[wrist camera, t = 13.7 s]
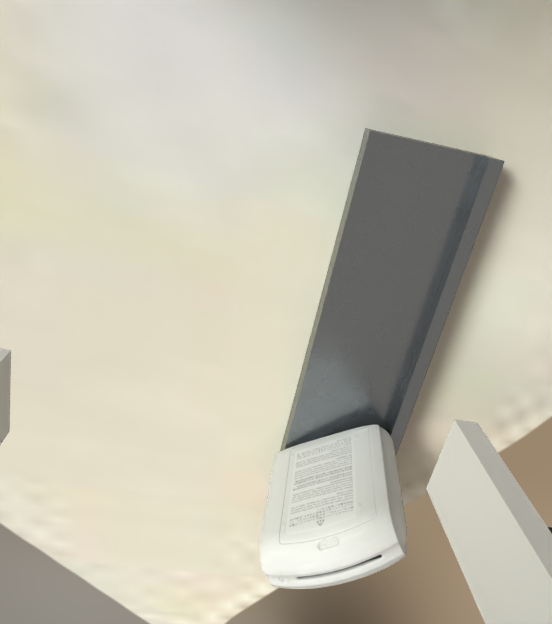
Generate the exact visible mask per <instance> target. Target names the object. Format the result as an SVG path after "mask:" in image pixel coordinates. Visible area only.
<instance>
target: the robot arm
mask: <svg viewBox="0 0 552 624" xmlns="http://www.w3.org/2000/svg"><path fill="white" fill-rule="evenodd" d="M10 374H11V350H7V349H0V444H1V443H2V442H3V440H4V439H5V437H6V436H7V434H8V433H9V427H10ZM426 490H427V492H428V494H429V496H430V498H431V501H432V503H433V506H434V508H435V510H436V512H437V515H438V517H439V519H440V522H441V524H442V526H443V528H444V531H445V533H446V535H447V538H448V540H449V542H450V544H451V547H452V549H453V551H454V554H455V556H456V558H457V560H458V562H459V565H460V567H461V569H462V572H463V574H464V576H465V579H466V581H467V583H468V586H469V588H470V590H471V592H472V595H473V597H474V599H475V602H476V604H477V606H478V608H479V611H480V613H481V615H482V617H483V620H484V622H485V624H552V528H550V527H547V526H546V524H545V523H544V521H543V520H542V519H541V517H540V516H539V514H538V512H537V511H536V509H535V508H534V507H533V505H532V503H531V502H530V501H529V499H528V498H527V496H526V495H525V493H524V492H523V490H522V489H521V487H520V486H519V484H518V483H517V481H516V480H515V478H514V477H513V475H512V474H511V472H510V471H509V469H508V468H507V466H506V465H505V463H504V462H503V460H502V459H501V457H500V456H499V454H498V453H497V451H496V450H495V448H494V447H493V445H492V444H491V442H490V441H489V439H488V438H487V436H486V435H485V433H484V432H483V430H482V429H481V427H480V426H479V424H478V423H474V422H467V421H461V420H455V419H454V422H453V424H452V427H451V429H450V432H449V434H448V436H447V439H446V441H445V444H444V446H443V449H442V451H441V454H440V456H439V458H438V461H437V463H436V466H435V468H434V471H433V473H432V476H431V478H430V480H429V483H428V485H427V488H426Z"/></svg>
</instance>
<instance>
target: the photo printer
mask: <svg viewBox="0 0 552 624" xmlns="http://www.w3.org/2000/svg"><path fill="white" fill-rule="evenodd" d="M406 531H407V529H406V521H405V515H404V508H403V502H402V496H401V489H400V483H399V476H398V470H397V464H396V458H395V452H394V445H393V441H392V438H391V436H390V434H389V433H388V432H387V431H386V430H385V429H383V428H381V427H379V425H367V426H362V427H358V428H354V429H351V430H347V431H343V432H340V433H336V434H333V435H329V436H326V437H322V438H319V439H316V440H312V441H309V442H306V443H302V444H299V445H296V446H293V447H290V448H287V449H285V450H283V451H280V452H279V453H277V454H276V455H275V457H274V461H273V467H272V473H271V479H270V484H269V490H268V496H267V501H266V507H265V513H264V518H263V524H262V530H261V535H260V542H259V549H260V560H261V565H262V570H263V573H264V574H265V575H266V576H267V577H268V579H269V582H270V584H271V585H272V586H275V587H281V588H289V589H310V588H320V587H327V586H333V585H338V584H342V583H346V582H350V581H353V580H357V579H360V578H362V577H366V576H368V575H371V574H373V573H376V572H378V571H381V570H383V569H385V568H387V567H389V566H391V565H392V564H394V563H396V562H397V561H399V560H401V559H402V558H403V557H405V556H406V554H407V545H406V533H407V532H406Z"/></svg>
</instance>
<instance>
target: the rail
mask: <svg viewBox="0 0 552 624" xmlns="http://www.w3.org/2000/svg"><path fill="white" fill-rule="evenodd" d="M503 164H504V161H502V160H499V159H496V158H493V157H490V156H486V155H482V154H477V153H473V152H468V151H464V150H459V149H455V148H451V147H446V146H442V145H437V144H433V143H428V142H424V141H420V140H415V139H411V138H406V137H402V136H398V135H393V134H389V133H384V132H380V131H375V130H371V129H367V128H365V132H364V136H363V140H362V144H361V147H360V151H359V155H358V159H357V162H356V166H355V170H354V174H353V178H352V181H351V185H350V189H349V193H348V197H347V200H346V204H345V208H344V212H343V215H342V219H341V223H340V227H339V231H338V234H337V238H336V242H335V246H334V250H333V253H332V257H331V261H330V265H329V268H328V272H327V276H326V280H325V284H324V287H323V291H322V295H321V299H320V303H319V306H318V310H317V314H316V318H315V321H314V325H313V329H312V333H311V337H310V340H309V344H308V348H307V352H306V356H305V359H304V363H303V367H302V371H301V374H300V378H299V382H298V386H297V390H296V393H295V397H294V401H293V405H292V409H291V412H290V416H289V420H288V424H287V427H286V431H285V435H284V439H283V443H282V446H281V450H280V451H283V450H285V449H287V448H290V447H293V446H296V445H299V444H302V443H306V442H309V441H312V440H316V439H319V438H322V437H326V436H329V435H333V434H336V433H340V432H343V431H347V430H351V429H354V428H358V427H362V426H367V425H379V427H381V428H383V429H385V430H386V431H387V432H388V433H389V434H390V436H391V438H392V441H393V445H394V452H395V456H396V453H397V451H398V448H399V445H400V443H401V440H402V437H403V434H404V432H405V429H406V426H407V424H408V421H409V418H410V415H411V413H412V410H413V407H414V405H415V402H416V399H417V397H418V394H419V391H420V388H421V386H422V383H423V380H424V378H425V375H426V372H427V370H428V367H429V364H430V361H431V359H432V356H433V353H434V351H435V348H436V345H437V342H438V340H439V337H440V334H441V332H442V329H443V326H444V324H445V321H446V318H447V315H448V313H449V310H450V307H451V305H452V302H453V299H454V297H455V294H456V291H457V288H458V286H459V283H460V280H461V278H462V275H463V272H464V269H465V267H466V264H467V261H468V259H469V256H470V253H471V251H472V248H473V245H474V242H475V240H476V237H477V234H478V232H479V229H480V226H481V224H482V221H483V218H484V215H485V213H486V210H487V207H488V205H489V202H490V199H491V197H492V194H493V191H494V188H495V186H496V183H497V180H498V178H499V175H500V172H501V169H502V167H503Z"/></svg>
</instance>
